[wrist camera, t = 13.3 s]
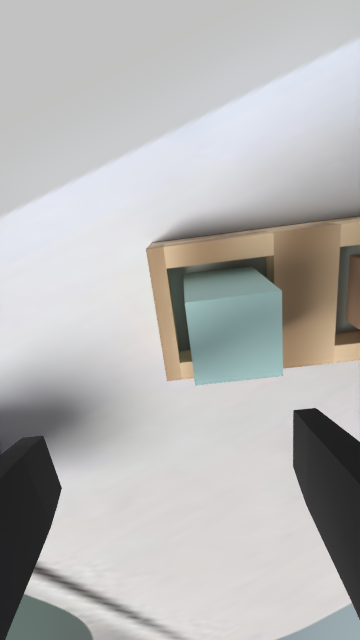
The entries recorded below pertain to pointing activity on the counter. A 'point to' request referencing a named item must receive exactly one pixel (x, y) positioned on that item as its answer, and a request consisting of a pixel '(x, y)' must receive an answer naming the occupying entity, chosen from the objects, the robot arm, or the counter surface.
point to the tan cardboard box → (353, 292)
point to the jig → (279, 268)
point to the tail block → (233, 325)
